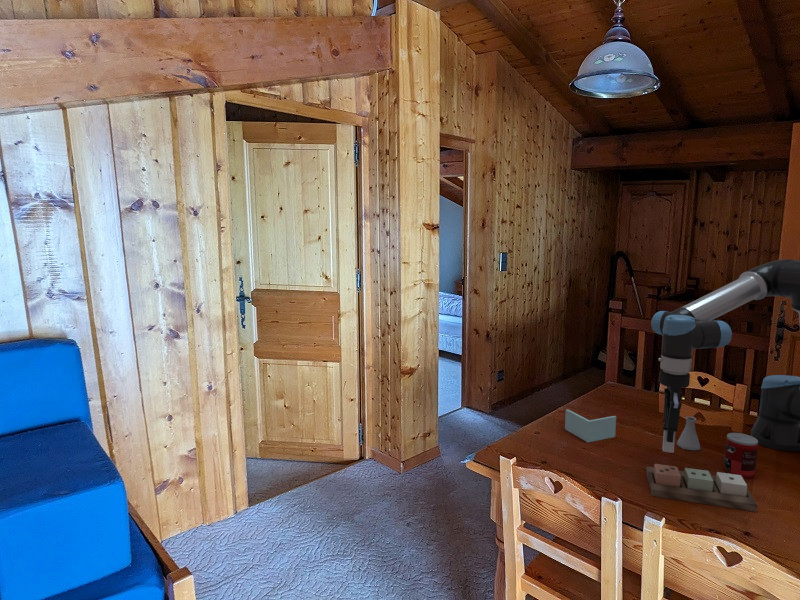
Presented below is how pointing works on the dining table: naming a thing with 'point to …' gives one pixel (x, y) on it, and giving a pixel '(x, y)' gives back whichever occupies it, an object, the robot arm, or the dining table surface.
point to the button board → (700, 494)
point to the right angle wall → (590, 427)
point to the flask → (689, 436)
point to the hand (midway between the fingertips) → (667, 450)
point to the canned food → (740, 454)
